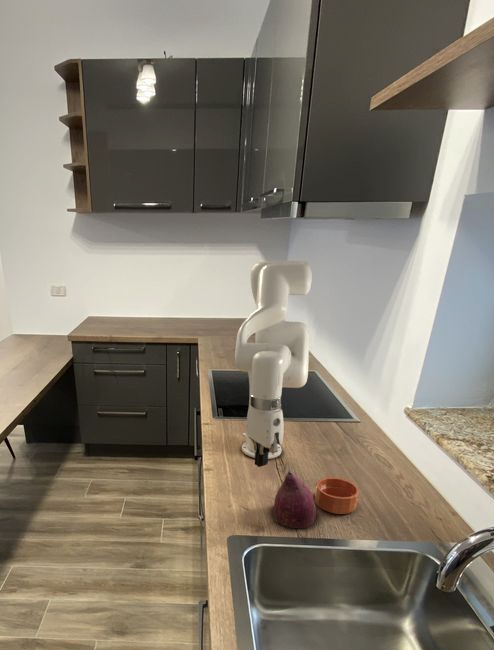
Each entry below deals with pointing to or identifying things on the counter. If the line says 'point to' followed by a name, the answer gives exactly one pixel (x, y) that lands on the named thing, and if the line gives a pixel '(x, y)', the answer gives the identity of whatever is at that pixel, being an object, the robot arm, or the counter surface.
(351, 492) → the bowl
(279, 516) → the vegetable
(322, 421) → the counter surface
